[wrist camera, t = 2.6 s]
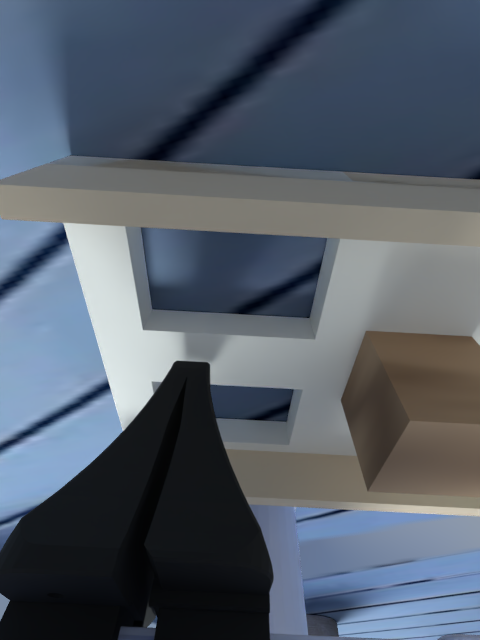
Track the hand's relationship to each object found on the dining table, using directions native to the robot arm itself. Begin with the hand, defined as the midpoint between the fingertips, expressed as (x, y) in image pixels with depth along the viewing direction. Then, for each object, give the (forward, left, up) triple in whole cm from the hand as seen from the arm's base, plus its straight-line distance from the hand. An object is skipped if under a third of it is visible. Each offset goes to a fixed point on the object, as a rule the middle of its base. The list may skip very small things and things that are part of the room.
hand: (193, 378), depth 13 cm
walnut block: (0, -9, -1) cm, 9 cm away
